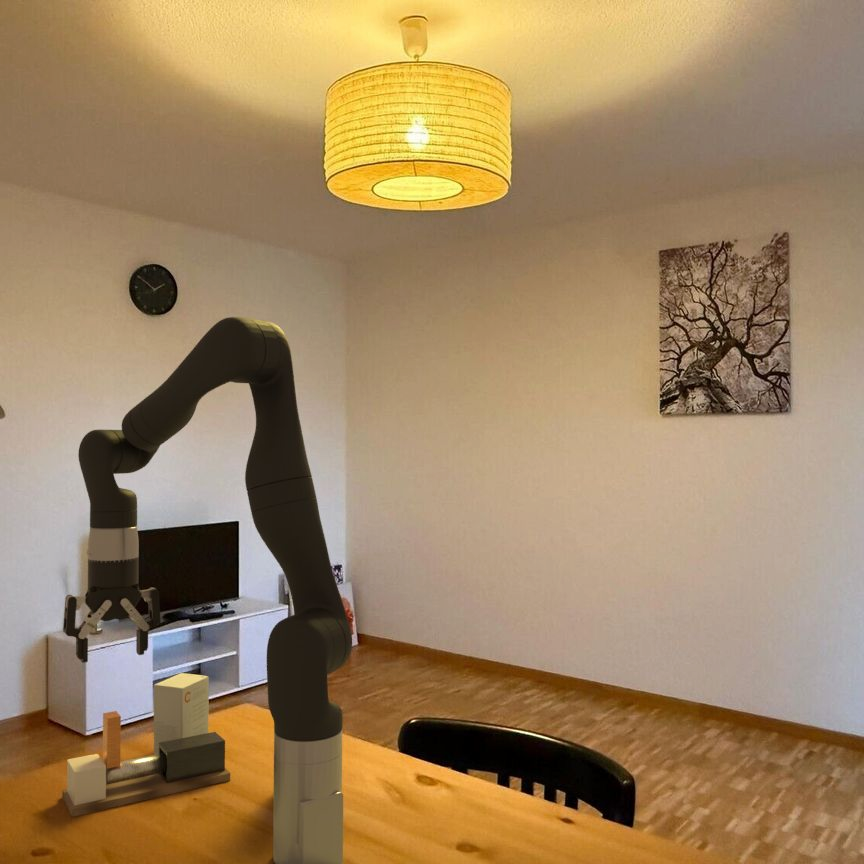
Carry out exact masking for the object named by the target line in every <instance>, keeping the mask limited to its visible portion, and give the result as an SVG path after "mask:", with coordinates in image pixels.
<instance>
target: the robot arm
mask: <svg viewBox="0 0 864 864" xmlns="http://www.w3.org/2000/svg"><path fill="white" fill-rule="evenodd" d="M293 366H294V365H293V359H292V352H291V348H290V344H289V340H288V337H287V336H286V334H285V333H284V331H283V329H282V328H281V327H279V325H277V324H276V323H273V322H271V321H268V320H263V319H256V318H255V319H254V318H249V317H241V316H232V317H225V318H222V319H220V320H219V321H217V322H216V323H215V324H214V325H212V326H211V327H210V328H209V330H207V332H206V333H204V335H203V336H202V337H201V338H200V339H199V340H198V342H197V343H196V344H195V346H194V347H193V348H192V349H191V350H190V352H189V353H188V354H187V356H186V357H184V359H183V360H182V362H181V363H179V365H178V366H177V367H176V368H175V370H174V371H173V372H172V373H171V374H170V375H169V376H168V377H167V379H166V380H165V381H164V382H163V383H162V384H161V385H160V386H159V387H157V388H156V389H155V390H154V391H153V392H151V393H150V394H149V395H148V396H146V397H144V399H142V400H141V401H140V402H139V403H137V404H136V405H135V406H133V407H132V408H131V409H130V410H129V411H127V413H126V414H125V415H124V417H123V419H122V421H121V429H93V430H91V431H88V432H87V433H86V434H85V435H84V436H83V438H82V439H81V441H80V444H79V446H78V455H77V456H78V462H79V463H78V464H79V467H80V470H81V474H82V477H83V481H84V484H85V488H86V492H87V495H88V499H89V503H90V504H89V510H90V511H89V534H88V542H87V550H86V551H87V552H86V555H87V590H86V593H85V595H72V594H67V595H66V596H65V598H64V599H65V602H64V611H63V612H64V613H63V614H64V615H63V629H62V631H63V633H64V634H65V635H66V636H68V637H72V638H75V656H76V658H77V659H78V660H80V662H81V663H84V664H85V663H88V660H89V638H88V635H89V634H90V632H91V631H92V630H93V629H94V628H95V627H96V626H97V625H98V623H99V622H100V621H103V622H109V621H112V620H125V619H126V618H128V617H129V618H130V619H131V620H132V621H133V623H134V624H135V625H136V626H137V627H138V628H137V629H136V631H135V632H136V642H135V643H136V646H135V647H136V649H135V650H136V654H137V655H138V656H143V655H145V652H146V651H147V650H148V649H149V631H150V629H152V628H155V627H158V626H160V625H161V622H162V621H161V620H162V619H161V607H160V606H161V605H160V604H161V603H160V601H161V600H160V591H159V590H158V589H157V588H155V587H152V586H151V587H149V588H148V589H142V590H141V589H140V587H139V568H140V567H139V565H140V564H139V563H140V562H139V560H140V559H139V556H140V555H139V550H140V549H139V548H140V546H139V545H140V544H139V543H140V541H139V534H138V497H137V494H136V493H135V492H134V491H133V490H131V489H127V488H122V487H120V486H118V483H117V481H116V478H115V475H118V474H123V475H124V474H132V473H136V472H137V471H140V470H141V469H143V468H145V467H147V466H148V464H149V463H150V462H151V460H152V459H153V458H154V456H155V454H156V453H157V452H158V451H159V448H160V446H161V445H163V444H164V443H165V442H167V441H168V440H170V439H171V438H172V437H173V436H175V435H176V434H178V433H179V432H180V431H182V430H183V428H185V427H186V426H187V425H188V424H189V423H190V421H191V419H192V418H193V416H194V414H195V412H196V409H197V406H198V404H199V402H200V401H201V399H202V398H203V397H204V396H206V395H207V394H208V393H210V392H211V391H213V390H215V389H216V388H219V387H221V386H223V385H226V384H228V383H234V384H248V385H249V388H250V392H251V395H252V401H253V405H254V410H255V429H254V434H253V440H252V442H251V447H250V450H249V454H248V456H247V461H246V465H245V473H244V474H245V475H244V481H245V489H246V491H247V492H246V493H247V498H248V504H249V508H250V512H251V517H252V519H253V523H254V527H255V529H256V530H257V533H258V534H259V537H260V539H261V540H262V541H263V543H264V545H265V546H266V547H267V549H268V550H269V551H270V553H271V554H272V556H273V558H275V560H276V562H277V563H278V564H279V566H280V568H281V569H282V571H283V574H284V576H285V578H286V581H287V584H288V587H289V592H290V597H291V602H292V606H293V613H294V614H293V615H290V616H287V617H285V618H283V619H281V620H280V621H278V622H277V623H276V624H275V625H274V627H273V628H272V630H271V632H270V634H269V637H268V640H267V646H266V647H267V648H266V682H267V701H268V707H269V708H268V709H269V713H270V715H271V717H272V719H273V726H274V727H273V729H274V730H273V806H272V807H273V812H272V813H273V815H272V816H273V817H272V820H273V825H272V830H273V833H272V834H273V839H272V840H273V843H272V844H273V846H272V847H273V851H272V853H273V858H272V859H273V863H274V864H343V863H344V794H343V720H344V719H343V710H342V708H341V707H340V705H339V704H338V703H335V702H333V701H331V700H330V699H329V688H328V686H329V685H328V683H329V682H328V676H329V675H330V674H332V673H334V672H335V671H338V670H339V669H341V668H342V667H343V666H344V665H345V664H346V663H347V662H348V660H349V659H350V656H351V653H352V648H353V634H352V629H351V624H350V620H349V618H348V615H347V612H346V608H345V605H344V602H343V599H342V597H341V593H340V591H339V588H338V585H337V582H336V577H335V574H334V571H333V568H332V564H331V559H330V555H329V550H328V545H327V542H326V536H325V533H324V528H323V524H322V521H321V520H322V519H321V516H320V511H319V505H318V498H317V494H316V490H315V485H314V484H315V483H314V481H313V475H312V471H311V468H310V465H309V460H308V457H307V456H308V455H307V450H306V447H305V441H304V437H303V430H302V425H301V420H300V414H299V409H298V403H297V393H296V392H297V391H296V385H295V376H294V375H295V374H294V367H293ZM142 598H143V600H144V602H146V603H147V604H148V605H147V607H148V618H146V619H145V618H143V616H142V615H141V613H140V612H139V611H138V610H137V609H136V606H137V604H138V603H139V602H140V600H141V599H142ZM83 604H85V605H86V606H87V607H88V609H89V610H88V612H87V614H86V615H85V616H84V617H83V621H82V622H80V624H79V626H78V627H76V615H77V611H79V610H80V609H81V607H82V605H83Z"/></svg>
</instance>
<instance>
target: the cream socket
mask: <svg viewBox="0 0 864 864" xmlns="http://www.w3.org/2000/svg"><path fill="white" fill-rule="evenodd" d="M66 762H67V763H66V764H67V765H66V767H67V769H66V773H67V774H66V789H67V792H68V794H69V796H70V798H71V800H72V802H73V804H74V806H75V805H79V804H84V803H88V802H93V801H97V800H102V799H106V765H105V764H104V762H103V758H101V757H100V755H99V754H98V753H94V754H89V755H88V754H87V755H82V756H79V757H73V758H69V759H67V760H66Z"/></svg>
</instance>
